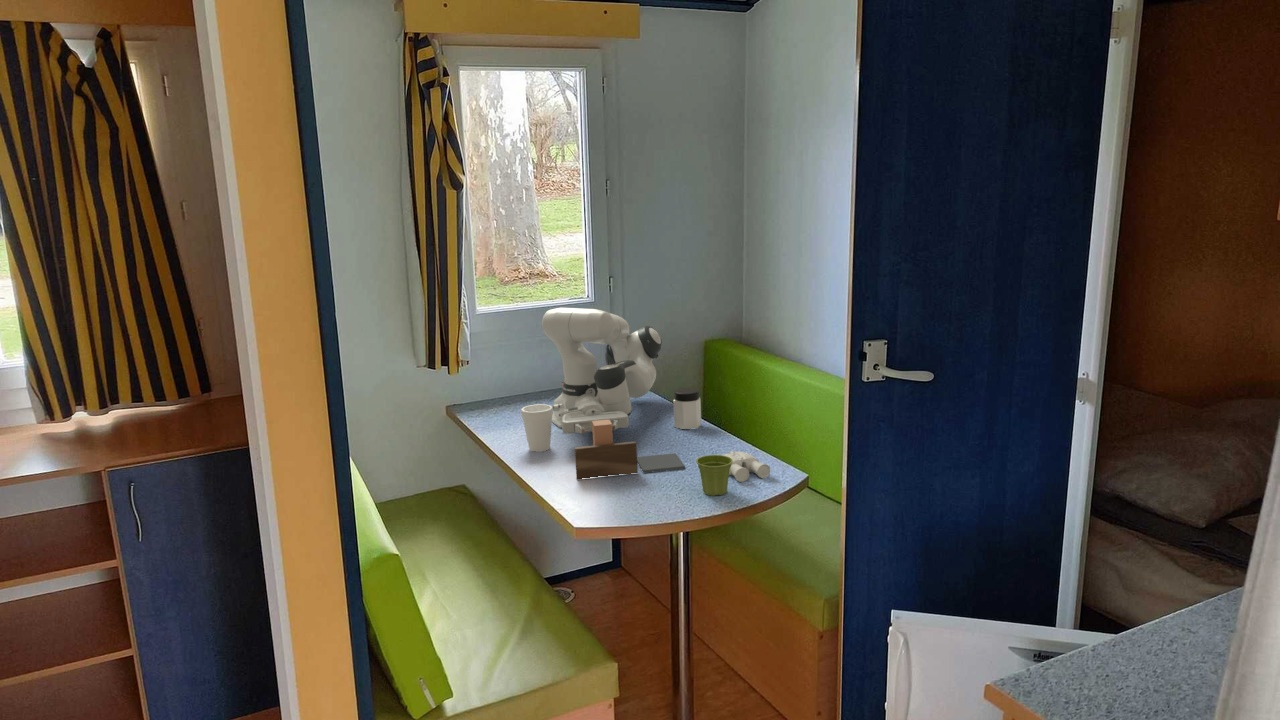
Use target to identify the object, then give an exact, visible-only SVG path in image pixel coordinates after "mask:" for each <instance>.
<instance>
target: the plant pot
mask: <svg viewBox="0 0 1280 720" xmlns="http://www.w3.org/2000/svg"><path fill="white" fill-rule="evenodd" d="M732 462H733V460H732V459H731V458H730V457H727V456H723V454H707V455H703V456H699V457H698V458H697V459H696V462H695V463H696V465H697V466H698V467H697V468H698V469H699V474H700V479H701V485H702V486H701V487H702V491H703V493H704V494H705V495H708V496H717V495H719V496H722V495H725V494H726V493H727V492H728V484H729V478H730V477H729V476H730V475H729V471H730V467H731V464H732Z"/></svg>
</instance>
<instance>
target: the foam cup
mask: <svg viewBox="0 0 1280 720" xmlns="http://www.w3.org/2000/svg"><path fill="white" fill-rule="evenodd" d="M552 406H553V405H550V404H547V403H546V404H545V403H542V404H541V403H536V404H531V405H526V406H523V407H522V408H521V409H520V412H521V418H522V421H523V425H524V431H525V435H526V440H527V444H528V445H527V446H528V448H529V451H530V452H532V451H536V452H535V453H539V452H538V451H544V452H547V451H549V450H550V449H551V443H552V442H551V440H552V439H551V438H552V424H553V422H552V415H553V412H554V411H553V408H552ZM548 449H549V450H548ZM546 450H547V451H546Z"/></svg>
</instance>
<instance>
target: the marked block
mask: <svg viewBox="0 0 1280 720" xmlns="http://www.w3.org/2000/svg"><path fill="white" fill-rule="evenodd" d="M592 431H593V432H592V446H594V445H604V444H614V439H613V437H614V435H613V431H612V423H611V421H610V420H598V421H592Z"/></svg>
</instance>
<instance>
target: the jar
mask: <svg viewBox="0 0 1280 720" xmlns="http://www.w3.org/2000/svg"><path fill="white" fill-rule="evenodd" d="M673 396H674V397H673V398H674V399H673V401H672V402H673V423H674V424H673V425H674V428H675V427H676V429H678V428H680V430H682V429H690V428H697V429H699V428H700V427H701V425H702V406H701V403H702V401H701V397H700V390H699V389H698V388H696V387H695V388H694V387H682V388H677V389H674V392H673ZM690 430H691V429H690Z"/></svg>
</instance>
